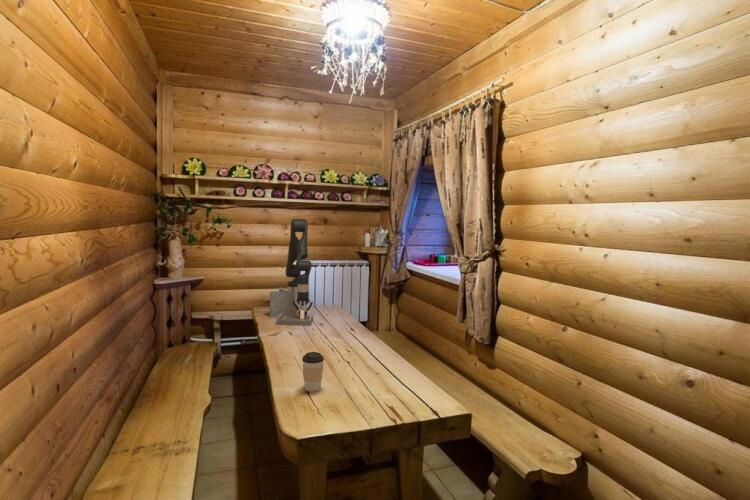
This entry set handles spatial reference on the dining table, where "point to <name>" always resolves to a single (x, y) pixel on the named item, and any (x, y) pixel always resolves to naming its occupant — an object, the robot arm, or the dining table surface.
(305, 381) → the coffee cup
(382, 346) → the dining table surface
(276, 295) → the grey upright panel
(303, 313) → the fader tab
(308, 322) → the console
